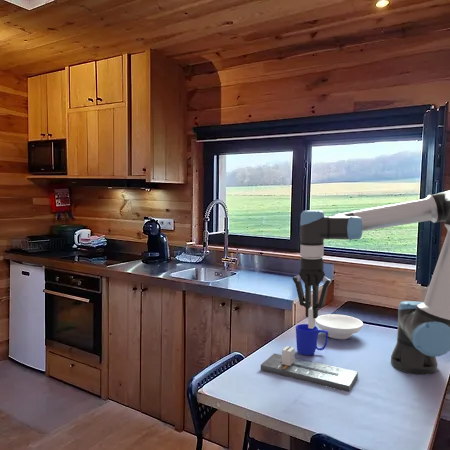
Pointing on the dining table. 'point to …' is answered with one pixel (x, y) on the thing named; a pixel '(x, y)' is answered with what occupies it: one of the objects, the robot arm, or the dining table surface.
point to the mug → (308, 339)
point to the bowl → (339, 325)
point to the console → (312, 372)
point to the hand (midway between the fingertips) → (311, 327)
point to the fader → (288, 355)
